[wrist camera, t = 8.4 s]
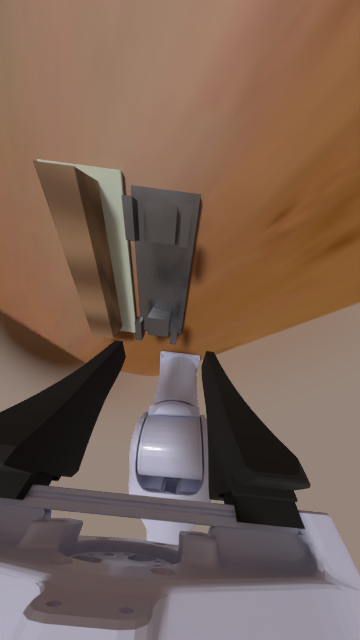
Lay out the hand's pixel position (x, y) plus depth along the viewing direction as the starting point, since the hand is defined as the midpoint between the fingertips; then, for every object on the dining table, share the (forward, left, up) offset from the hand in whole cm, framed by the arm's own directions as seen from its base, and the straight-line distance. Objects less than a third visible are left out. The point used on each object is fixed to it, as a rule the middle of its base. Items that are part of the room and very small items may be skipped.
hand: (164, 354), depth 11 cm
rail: (+3, +10, -10) cm, 15 cm away
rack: (+3, +2, -10) cm, 11 cm away
